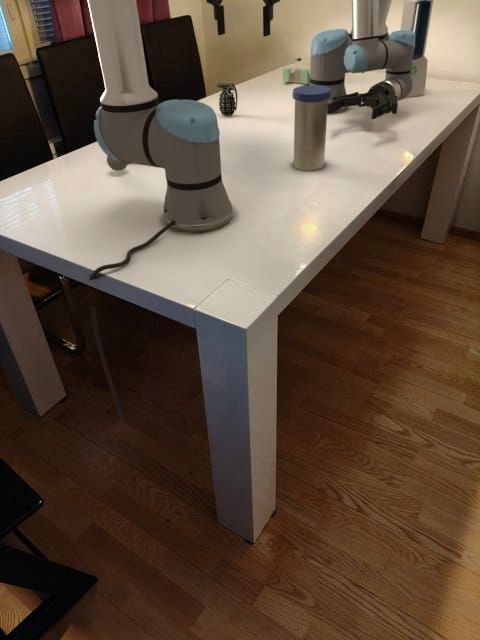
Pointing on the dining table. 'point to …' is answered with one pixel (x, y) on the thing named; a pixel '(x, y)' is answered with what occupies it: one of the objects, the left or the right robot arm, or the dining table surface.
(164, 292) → the dining table surface
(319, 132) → the jar
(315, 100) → the lid
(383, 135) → the dining table surface
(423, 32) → the electronic device
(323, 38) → the right robot arm
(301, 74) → the decorative block
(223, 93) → the grenade
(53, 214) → the dining table surface
